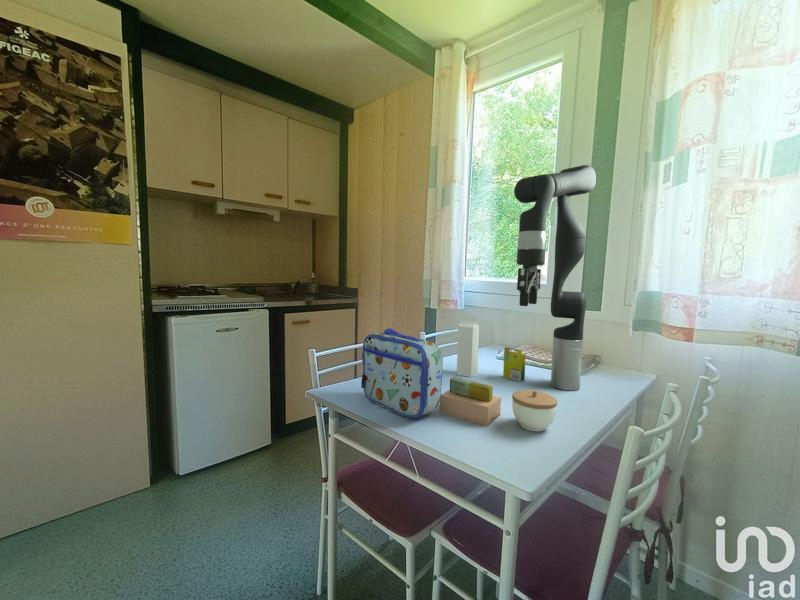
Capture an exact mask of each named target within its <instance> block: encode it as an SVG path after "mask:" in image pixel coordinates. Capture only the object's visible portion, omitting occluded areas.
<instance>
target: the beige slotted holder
mask: <svg viewBox="0 0 800 600" xmlns="http://www.w3.org/2000/svg"><path fill="white" fill-rule="evenodd" d="M501 407H502V397H501V396H498V395H493V394H492V400H491V401H490V402H486V401H483V400H479V399H475V398H472V397H468V396H464V395H461V394H457V393H453V392H450V389H448V390H447V391H445V392H443V393H441V399H440V405H439V413H440V414H445V415H448V416H451V417H455V418H458V419H463V420H465V421H469V422H471V423H476V424H479V425H483V426H486V427H488V426H490V425H491V424H492V423H493V422H494V421H495V420H496V419H498V418H499V417H500V416H501V410H502V409H501Z"/></svg>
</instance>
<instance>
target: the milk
mask: <svg viewBox="0 0 800 600" xmlns="http://www.w3.org/2000/svg"><path fill="white" fill-rule="evenodd" d="M457 331H458V332H457V354H456V355H457V356H456V357H457V358H456V375H457V374H459V375H458V376H461V375H463V377H466V376H467V377H466V378H473V377H474V376H476V375H478V368H479V367H478V364H479V341H480V340H479V339H480V338H479V337H480V325H479V324H478V323H477V318H476V317H467V316H462V317H461V321H460V323H459V325H458V326H457Z"/></svg>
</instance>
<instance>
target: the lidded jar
mask: <svg viewBox="0 0 800 600" xmlns="http://www.w3.org/2000/svg"><path fill="white" fill-rule="evenodd" d="M511 395H512V396H511V397H512V402H511V403H512V405H511V406H512V411H513V415H514V418H515V419H516V421H517V422H518V423H519V424H520V427H522V428H523V429H525V430H527V431H530V432H544V431H545V430H546V429H547V428H548V427H549V426H551V425H552V423H553V422H554V420H555V417H556V412H557V405H558V399H557V398H556V397H555V396H553V395H551V394H549V393H546V392H543V391H537V390H535V389H534V390H533V389H532V390H530V389H521V390H517V391H514V392H513V393H512V394H511Z"/></svg>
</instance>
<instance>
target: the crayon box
mask: <svg viewBox="0 0 800 600" xmlns="http://www.w3.org/2000/svg"><path fill="white" fill-rule="evenodd" d="M522 351H523V350H522V349H517V348H513V347H512V348H511V347H508V346H504V352H503V374H502V375H503V377H502V378H503V379H510V380H512V381H516V382H520V383H521V381H522V382H524V381H525V377H526V375H525V374H526V373H525V372H526V354H525V353H522Z"/></svg>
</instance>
